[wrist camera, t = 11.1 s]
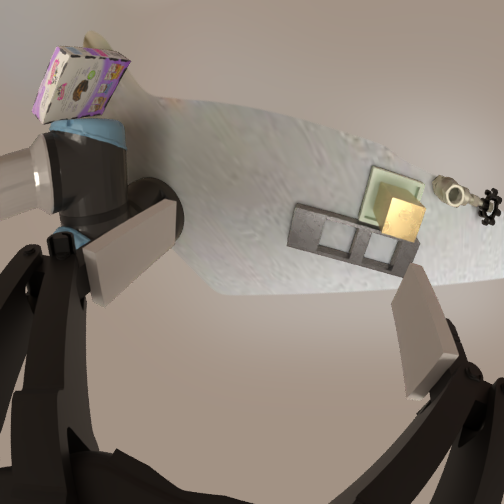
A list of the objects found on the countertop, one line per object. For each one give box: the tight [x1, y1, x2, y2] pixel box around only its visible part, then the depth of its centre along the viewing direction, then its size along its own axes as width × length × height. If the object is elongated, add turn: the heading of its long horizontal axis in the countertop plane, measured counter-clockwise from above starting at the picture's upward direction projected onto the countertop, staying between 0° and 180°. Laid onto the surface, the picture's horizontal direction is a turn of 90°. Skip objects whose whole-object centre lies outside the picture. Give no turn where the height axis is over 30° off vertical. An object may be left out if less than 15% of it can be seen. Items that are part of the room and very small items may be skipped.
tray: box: [358, 165, 425, 226], centre depth 41 cm, size 9×9×2 cm
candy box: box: [32, 46, 131, 125], centre depth 38 cm, size 14×6×16 cm, turn 140°
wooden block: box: [373, 182, 426, 242], centre depth 37 cm, size 5×5×10 cm
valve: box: [432, 175, 502, 226], centre depth 35 cm, size 7×7×12 cm
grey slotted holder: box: [287, 203, 420, 278], centre depth 46 cm, size 22×7×2 cm, turn 81°
